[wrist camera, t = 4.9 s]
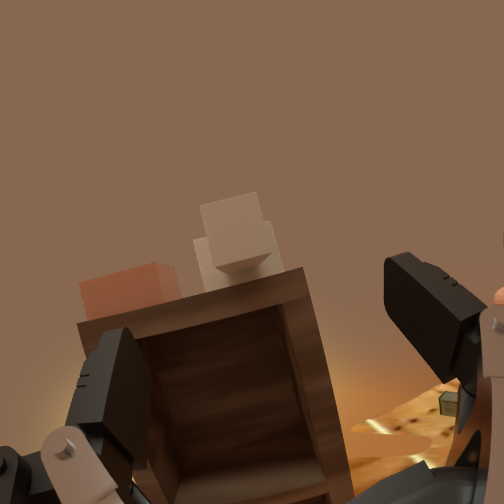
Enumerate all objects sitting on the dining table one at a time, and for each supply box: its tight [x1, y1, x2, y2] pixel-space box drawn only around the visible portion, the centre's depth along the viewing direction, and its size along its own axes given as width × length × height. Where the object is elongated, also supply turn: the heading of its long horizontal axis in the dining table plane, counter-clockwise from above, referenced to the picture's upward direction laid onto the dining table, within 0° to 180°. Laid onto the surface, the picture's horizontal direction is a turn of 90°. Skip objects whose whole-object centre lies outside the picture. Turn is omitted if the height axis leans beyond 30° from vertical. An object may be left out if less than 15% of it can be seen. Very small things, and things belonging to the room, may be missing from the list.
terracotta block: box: [79, 262, 182, 321], centre depth 26 cm, size 7×6×3 cm
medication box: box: [439, 391, 458, 417], centre depth 40 cm, size 12×3×4 cm, turn 25°
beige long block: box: [193, 191, 285, 292], centre depth 23 cm, size 20×6×4 cm, turn 2°
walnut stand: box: [77, 267, 355, 504], centre depth 26 cm, size 12×17×32 cm
